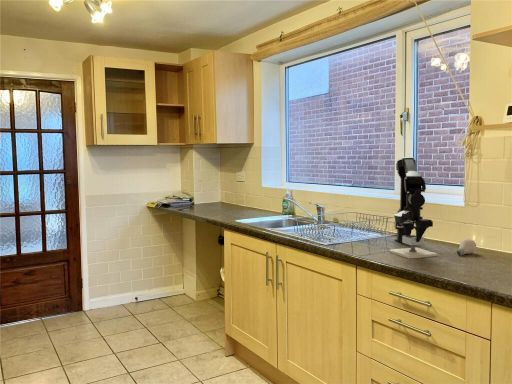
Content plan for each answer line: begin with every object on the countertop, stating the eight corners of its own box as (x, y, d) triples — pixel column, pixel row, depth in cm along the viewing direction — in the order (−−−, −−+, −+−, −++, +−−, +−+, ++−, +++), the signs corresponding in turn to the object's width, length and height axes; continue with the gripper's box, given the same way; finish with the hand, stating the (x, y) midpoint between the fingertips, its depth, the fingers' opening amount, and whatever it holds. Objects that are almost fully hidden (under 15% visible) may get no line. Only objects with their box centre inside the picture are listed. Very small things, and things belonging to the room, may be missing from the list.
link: (402, 242, 201) (402, 235, 201) (414, 241, 203) (414, 234, 203) (411, 245, 195) (411, 238, 195) (424, 244, 197) (424, 237, 197)
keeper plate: (389, 251, 204) (389, 237, 204) (416, 249, 208) (416, 235, 208) (408, 258, 191) (409, 243, 190) (437, 255, 195) (437, 240, 195)
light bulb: (463, 246, 192) (476, 235, 198) (449, 246, 197) (462, 236, 203) (468, 260, 192) (481, 250, 198) (454, 260, 198) (467, 250, 204)
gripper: (384, 203, 204) (384, 238, 206) (411, 208, 187) (410, 246, 188) (406, 202, 208) (405, 236, 209) (434, 206, 190) (433, 244, 191)
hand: (412, 240), depth 199 cm, fingers closed on link, 6 cm apart
